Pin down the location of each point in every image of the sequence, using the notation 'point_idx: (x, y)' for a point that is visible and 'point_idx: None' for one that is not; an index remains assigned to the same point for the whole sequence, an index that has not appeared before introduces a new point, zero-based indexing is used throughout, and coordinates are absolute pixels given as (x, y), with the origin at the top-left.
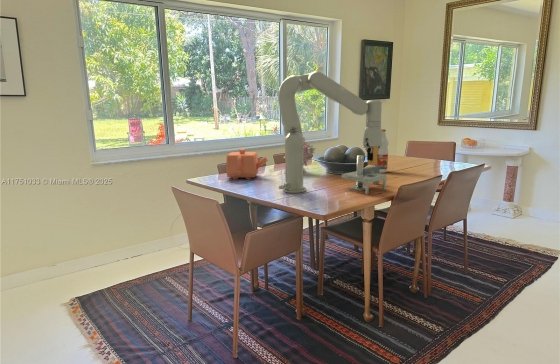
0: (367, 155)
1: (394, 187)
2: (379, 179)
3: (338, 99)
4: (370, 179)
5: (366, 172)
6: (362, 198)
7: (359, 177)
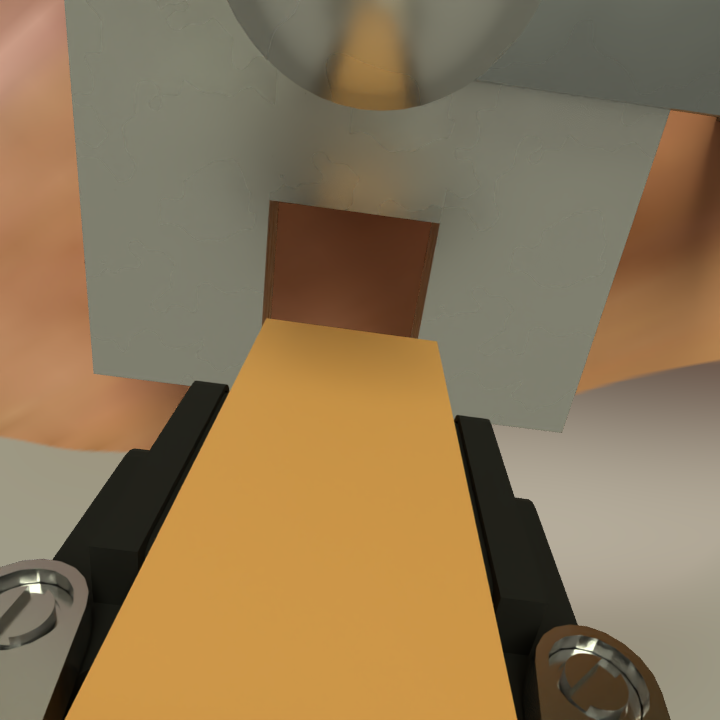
0: (144, 468)
1: (661, 368)
2: None
3: None
4: (167, 375)
5: (534, 89)
6: (10, 334)
7: (95, 205)
